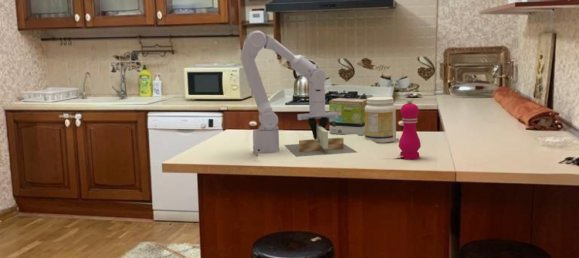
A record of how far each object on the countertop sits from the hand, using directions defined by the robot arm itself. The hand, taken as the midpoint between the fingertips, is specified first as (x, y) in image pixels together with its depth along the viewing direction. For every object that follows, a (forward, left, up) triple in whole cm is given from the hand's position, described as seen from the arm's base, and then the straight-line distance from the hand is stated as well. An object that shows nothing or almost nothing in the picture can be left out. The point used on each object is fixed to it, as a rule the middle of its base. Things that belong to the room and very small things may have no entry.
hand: (318, 138), depth 208 cm
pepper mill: (+26, -23, -5) cm, 35 cm away
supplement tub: (+28, +11, -5) cm, 30 cm away
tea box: (+22, +33, -5) cm, 40 cm away
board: (0, -1, -4) cm, 5 cm away
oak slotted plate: (0, -5, -3) cm, 6 cm away
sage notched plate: (0, -4, -1) cm, 5 cm away
